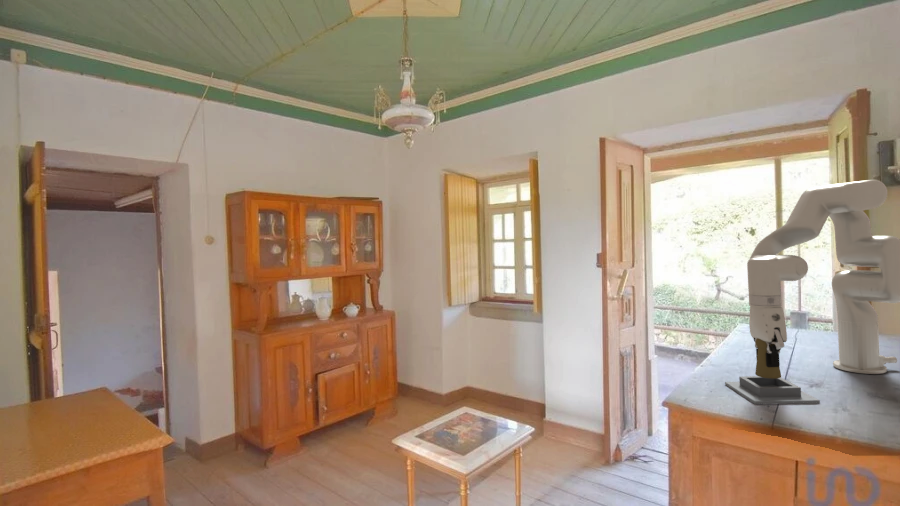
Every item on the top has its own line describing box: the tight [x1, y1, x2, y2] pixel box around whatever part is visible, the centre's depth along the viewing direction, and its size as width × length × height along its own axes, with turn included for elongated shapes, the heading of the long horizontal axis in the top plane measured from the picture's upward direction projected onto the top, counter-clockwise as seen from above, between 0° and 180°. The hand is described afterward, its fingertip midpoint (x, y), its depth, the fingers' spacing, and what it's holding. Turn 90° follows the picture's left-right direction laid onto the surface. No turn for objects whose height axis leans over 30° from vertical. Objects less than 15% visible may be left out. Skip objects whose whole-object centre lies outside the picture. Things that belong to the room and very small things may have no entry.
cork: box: [754, 338, 782, 379], centre depth 124 cm, size 6×6×11 cm
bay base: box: [724, 375, 821, 405], centre depth 124 cm, size 16×16×3 cm
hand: (767, 363), depth 124 cm, fingers closed on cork, 3 cm apart
